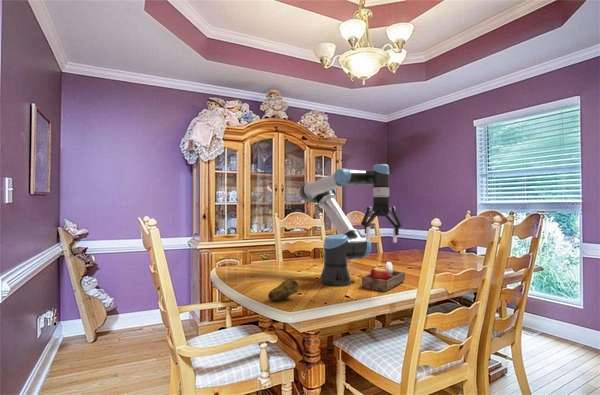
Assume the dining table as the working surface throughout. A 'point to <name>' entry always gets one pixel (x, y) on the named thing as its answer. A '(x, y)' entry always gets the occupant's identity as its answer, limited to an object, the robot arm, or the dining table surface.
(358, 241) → the robot arm
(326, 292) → the dining table surface
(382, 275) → the apple
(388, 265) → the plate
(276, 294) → the avocado
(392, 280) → the wooden tray
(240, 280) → the dining table surface
